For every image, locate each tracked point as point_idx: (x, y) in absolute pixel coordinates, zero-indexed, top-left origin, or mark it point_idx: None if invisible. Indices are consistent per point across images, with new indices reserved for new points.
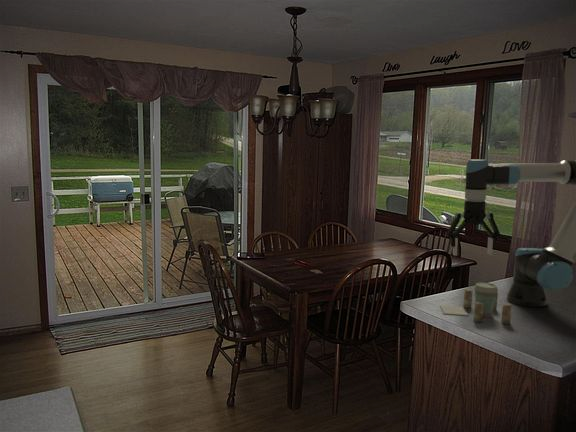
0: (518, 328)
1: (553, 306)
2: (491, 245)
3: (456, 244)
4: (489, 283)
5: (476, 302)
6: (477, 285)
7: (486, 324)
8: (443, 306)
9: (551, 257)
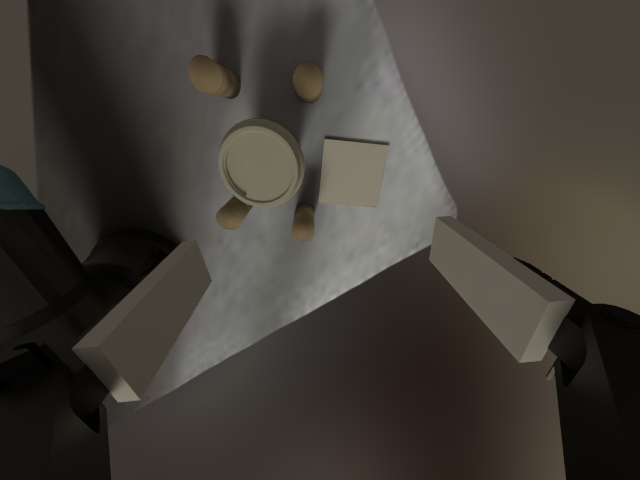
0: (196, 30)
1: (84, 242)
2: (145, 288)
3: (506, 261)
4: (240, 195)
5: (315, 92)
6: (296, 160)
7: (289, 62)
8: (369, 202)
9: None
